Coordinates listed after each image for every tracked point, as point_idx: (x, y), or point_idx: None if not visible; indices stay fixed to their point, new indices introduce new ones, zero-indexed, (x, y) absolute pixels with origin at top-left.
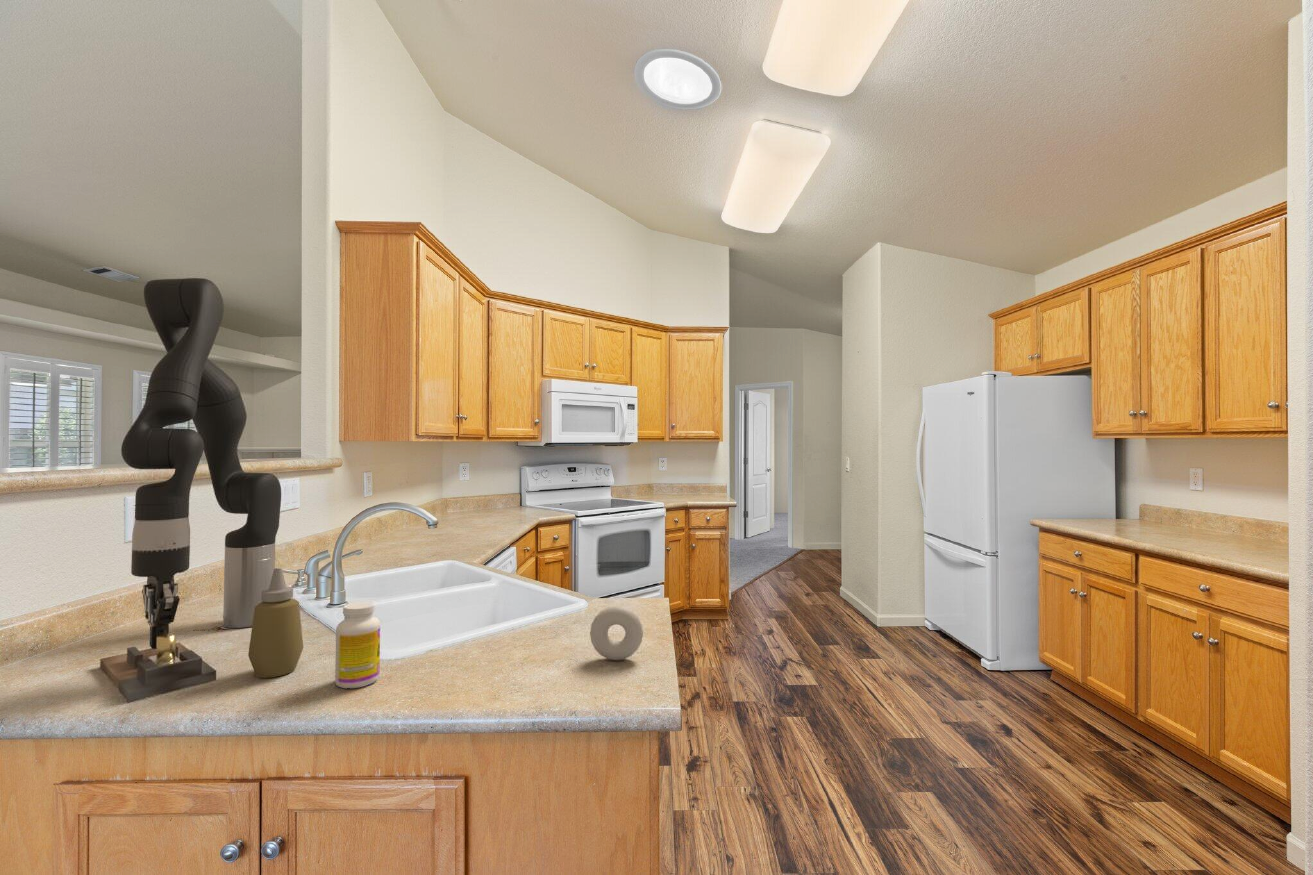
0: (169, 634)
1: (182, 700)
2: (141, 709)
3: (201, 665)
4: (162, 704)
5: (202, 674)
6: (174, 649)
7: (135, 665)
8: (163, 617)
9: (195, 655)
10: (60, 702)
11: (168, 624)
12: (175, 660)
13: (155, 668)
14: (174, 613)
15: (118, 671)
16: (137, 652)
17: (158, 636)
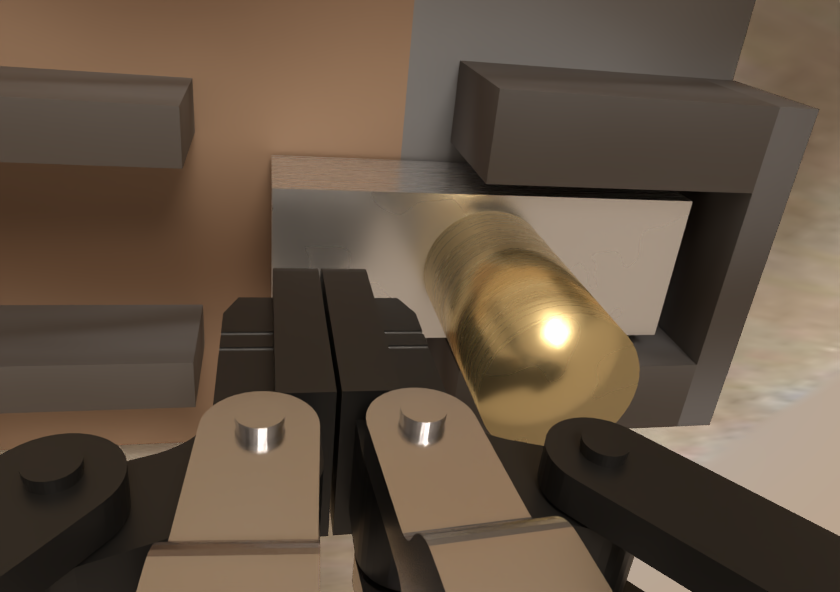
0: (534, 358)
1: (833, 222)
2: (751, 367)
3: (772, 96)
4: (786, 296)
5: (730, 73)
6: (558, 258)
7: (202, 359)
8: (614, 577)
9: (703, 121)
10: (322, 572)
11: (394, 393)
12: (571, 226)
13: (713, 382)
14: (824, 543)
15: (160, 416)
16: (88, 382)
17: (516, 440)
